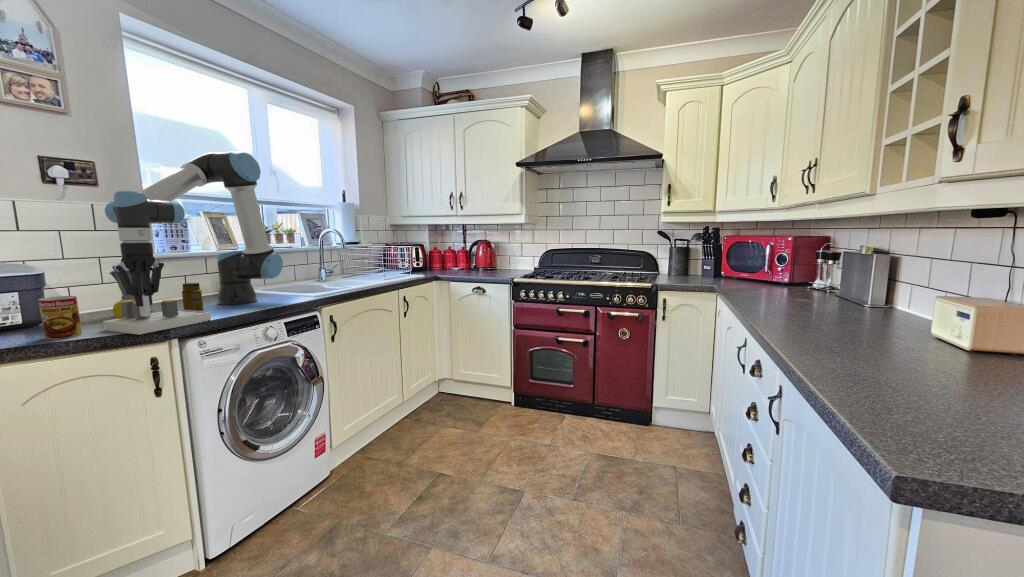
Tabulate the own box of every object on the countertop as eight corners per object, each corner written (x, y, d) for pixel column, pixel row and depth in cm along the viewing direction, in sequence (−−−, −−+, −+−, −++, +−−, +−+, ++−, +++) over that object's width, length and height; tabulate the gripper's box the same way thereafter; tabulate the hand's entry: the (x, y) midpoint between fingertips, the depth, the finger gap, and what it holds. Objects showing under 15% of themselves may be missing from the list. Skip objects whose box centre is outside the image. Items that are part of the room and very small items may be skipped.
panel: (178, 317, 156) (177, 308, 155) (211, 320, 150) (210, 311, 149) (104, 330, 135) (103, 320, 135) (138, 334, 129) (137, 324, 129)
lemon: (119, 321, 150) (116, 299, 148) (138, 319, 151) (135, 298, 150) (110, 324, 144) (107, 301, 143) (131, 322, 146) (127, 300, 145)
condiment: (204, 311, 167) (201, 281, 166) (206, 314, 161) (202, 283, 159) (181, 313, 163) (178, 283, 161) (182, 317, 156) (178, 285, 155)
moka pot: (107, 315, 160) (99, 263, 157) (150, 308, 174) (144, 260, 172) (125, 316, 157) (118, 263, 155) (168, 309, 172) (162, 260, 169)
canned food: (41, 341, 122) (34, 300, 121) (49, 335, 129) (42, 297, 127) (78, 336, 127) (72, 298, 125) (84, 332, 133) (79, 295, 132)
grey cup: (144, 316, 139) (142, 300, 139) (150, 317, 138) (148, 301, 138) (133, 318, 137) (131, 301, 136) (139, 319, 135) (137, 302, 135)
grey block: (172, 314, 142) (170, 299, 141) (178, 315, 141) (176, 299, 140) (162, 316, 139) (160, 300, 138) (168, 317, 138) (166, 300, 137)
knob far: (133, 315, 141) (131, 299, 141) (138, 316, 140) (136, 300, 140) (122, 317, 139) (120, 300, 138) (128, 317, 138) (125, 301, 137)
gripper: (117, 242, 123) (128, 320, 126) (167, 241, 135) (175, 312, 138) (102, 242, 125) (113, 319, 129) (152, 241, 137) (161, 311, 141)
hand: (145, 315), depth 133 cm, fingers closed
